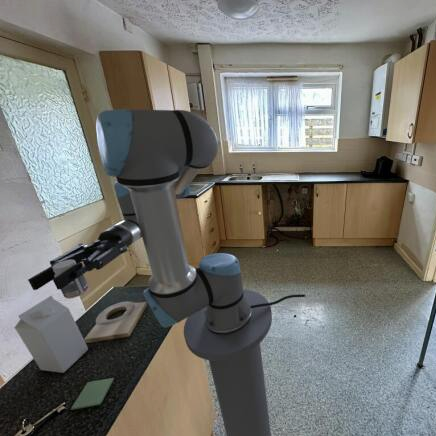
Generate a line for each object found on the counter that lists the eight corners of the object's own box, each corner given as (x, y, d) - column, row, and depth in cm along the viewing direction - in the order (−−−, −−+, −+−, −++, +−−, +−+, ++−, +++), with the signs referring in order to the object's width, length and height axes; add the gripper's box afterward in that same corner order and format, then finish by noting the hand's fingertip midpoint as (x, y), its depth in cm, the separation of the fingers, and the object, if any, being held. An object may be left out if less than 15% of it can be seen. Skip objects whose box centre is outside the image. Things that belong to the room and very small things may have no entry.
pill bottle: (81, 285, 61) (68, 257, 58) (93, 288, 60) (81, 259, 56) (59, 297, 57) (44, 267, 54) (72, 300, 55) (58, 270, 52)
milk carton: (40, 370, 62) (6, 314, 55) (67, 347, 69) (40, 294, 62) (63, 373, 61) (31, 317, 54) (89, 349, 68) (63, 296, 61)
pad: (114, 379, 60) (113, 377, 59) (100, 404, 54) (99, 403, 54) (88, 383, 59) (87, 382, 59) (71, 410, 53) (70, 408, 53)
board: (149, 301, 86) (148, 298, 85) (129, 336, 72) (127, 333, 71) (108, 307, 84) (107, 303, 84) (79, 344, 70) (78, 340, 69)
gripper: (151, 247, 74) (90, 297, 52) (96, 248, 74) (13, 299, 53) (144, 225, 71) (77, 268, 49) (87, 226, 71) (-4, 270, 50)
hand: (44, 284), depth 51 cm, fingers closed on pill bottle, 5 cm apart
